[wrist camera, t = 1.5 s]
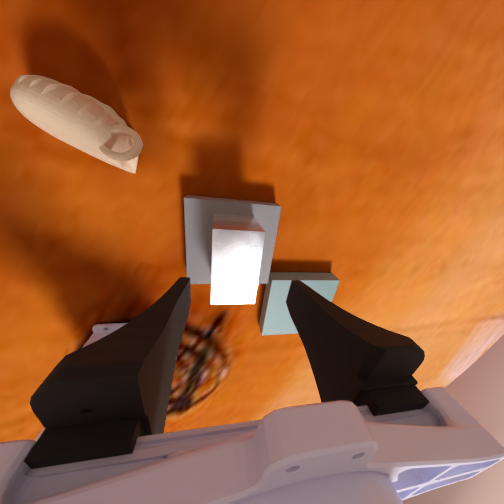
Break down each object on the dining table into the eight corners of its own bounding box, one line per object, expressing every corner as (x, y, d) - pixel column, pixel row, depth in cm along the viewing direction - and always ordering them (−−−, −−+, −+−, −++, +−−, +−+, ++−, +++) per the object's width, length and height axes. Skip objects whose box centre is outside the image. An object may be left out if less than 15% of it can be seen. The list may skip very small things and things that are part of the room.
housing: (212, 274, 20) (210, 304, 16) (214, 213, 17) (212, 228, 13) (246, 274, 21) (254, 303, 17) (253, 216, 18) (265, 231, 14)
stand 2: (258, 324, 28) (261, 335, 26) (268, 271, 24) (272, 280, 22) (314, 321, 30) (320, 331, 28) (331, 272, 26) (339, 280, 24)
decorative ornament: (53, 72, 13) (-40, 17, 8) (166, 143, 16) (145, 133, 11) (43, 127, 14) (-45, 106, 10) (150, 184, 17) (124, 190, 13)
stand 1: (189, 274, 22) (187, 283, 20) (187, 194, 18) (183, 197, 16) (263, 275, 24) (267, 283, 22) (275, 202, 20) (281, 206, 18)
